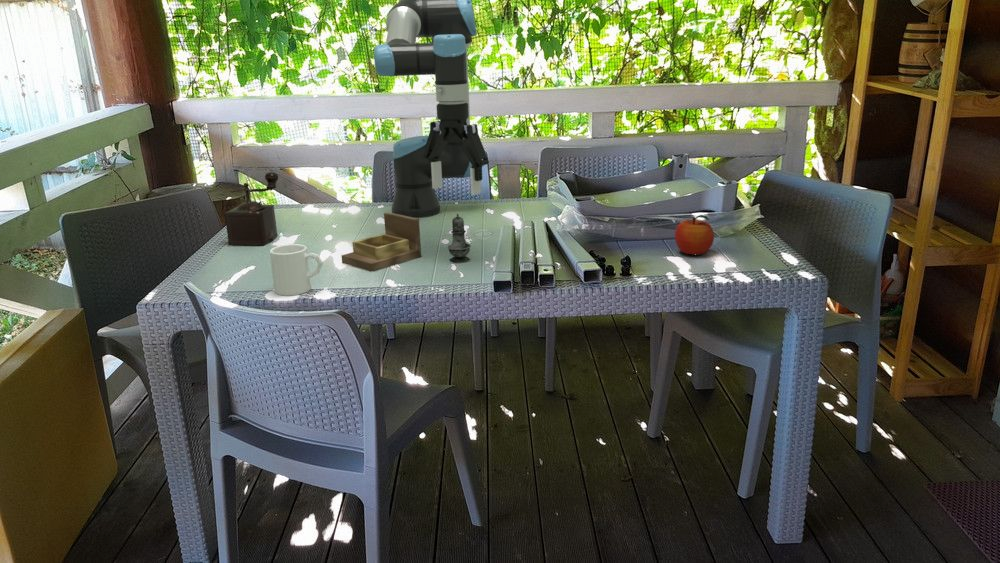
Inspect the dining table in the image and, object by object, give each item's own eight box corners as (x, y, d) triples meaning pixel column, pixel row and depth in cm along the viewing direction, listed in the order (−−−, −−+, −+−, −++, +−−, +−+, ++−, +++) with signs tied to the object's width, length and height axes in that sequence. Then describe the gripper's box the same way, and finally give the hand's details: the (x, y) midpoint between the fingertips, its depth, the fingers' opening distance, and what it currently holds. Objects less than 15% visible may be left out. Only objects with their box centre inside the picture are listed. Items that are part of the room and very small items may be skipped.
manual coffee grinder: (265, 246, 222) (257, 181, 216) (227, 246, 223) (218, 181, 218) (287, 231, 236) (280, 170, 231) (251, 231, 238) (244, 170, 232)
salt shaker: (444, 258, 206) (442, 212, 202) (466, 255, 208) (464, 209, 204) (452, 264, 200) (450, 217, 197) (474, 261, 203) (472, 214, 199)
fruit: (683, 245, 210) (684, 208, 207) (718, 251, 205) (720, 212, 201) (667, 255, 203) (669, 216, 200) (704, 260, 197) (706, 220, 194)
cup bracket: (391, 248, 216) (388, 212, 212) (421, 256, 208) (418, 218, 205) (342, 262, 205) (338, 224, 201) (372, 271, 197) (368, 231, 194)
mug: (318, 297, 180) (313, 254, 177) (268, 295, 182) (263, 253, 179) (332, 285, 187) (328, 244, 184) (284, 283, 190) (279, 243, 187)
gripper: (405, 101, 197) (411, 187, 204) (478, 106, 181) (482, 199, 188) (428, 98, 203) (433, 182, 209) (501, 103, 186) (504, 194, 193)
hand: (456, 191), depth 198 cm, fingers open, 13 cm apart
